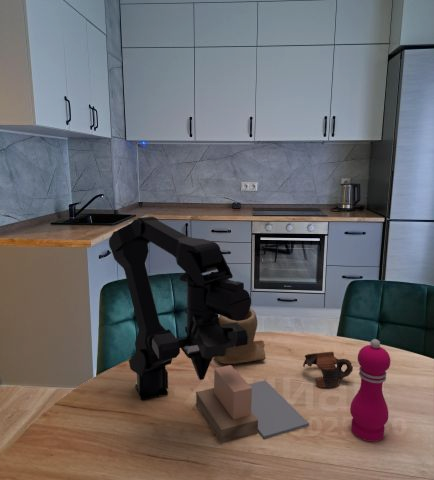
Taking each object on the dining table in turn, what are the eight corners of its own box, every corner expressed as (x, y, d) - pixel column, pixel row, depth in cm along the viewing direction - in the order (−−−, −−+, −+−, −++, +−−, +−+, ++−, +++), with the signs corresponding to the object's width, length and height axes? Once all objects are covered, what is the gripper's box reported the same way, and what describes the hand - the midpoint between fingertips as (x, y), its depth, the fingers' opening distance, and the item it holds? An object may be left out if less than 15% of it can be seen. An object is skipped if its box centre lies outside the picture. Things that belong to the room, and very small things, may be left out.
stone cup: (219, 372, 103) (220, 318, 100) (210, 351, 115) (211, 302, 112) (274, 367, 106) (277, 314, 103) (261, 347, 118) (262, 299, 115)
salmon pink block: (233, 419, 80) (233, 392, 78) (214, 393, 89) (214, 368, 87) (251, 414, 81) (251, 387, 80) (230, 389, 90) (230, 365, 89)
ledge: (221, 443, 77) (221, 429, 76) (196, 404, 90) (196, 391, 89) (257, 433, 80) (258, 419, 79) (228, 396, 93) (228, 384, 92)
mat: (263, 439, 78) (263, 436, 78) (226, 391, 95) (226, 389, 94) (308, 425, 83) (309, 423, 82) (265, 382, 99) (265, 380, 99)
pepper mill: (382, 448, 76) (392, 351, 72) (344, 434, 80) (352, 341, 76) (389, 428, 82) (398, 337, 78) (353, 416, 86) (360, 329, 82)
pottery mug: (304, 389, 97) (299, 354, 99) (309, 387, 105) (304, 355, 108) (356, 385, 93) (349, 349, 96) (356, 383, 102) (350, 350, 105)
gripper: (166, 328, 67) (167, 412, 70) (263, 313, 74) (260, 390, 77) (150, 306, 77) (152, 380, 80) (237, 295, 84) (235, 363, 87)
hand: (200, 378), depth 81 cm, fingers closed
